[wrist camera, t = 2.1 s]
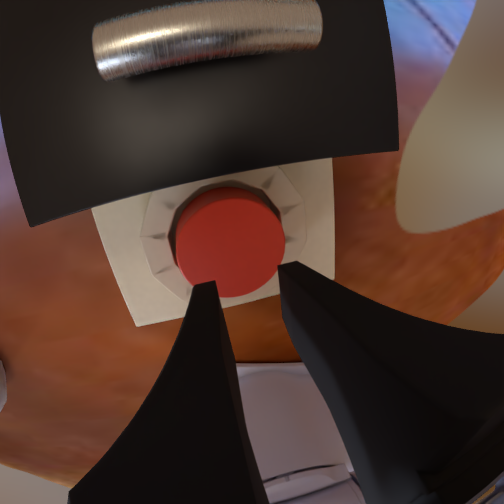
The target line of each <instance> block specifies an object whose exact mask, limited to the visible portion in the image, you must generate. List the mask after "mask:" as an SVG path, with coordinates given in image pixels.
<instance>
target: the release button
mask: <svg viewBox="0 0 504 504" xmlns="http://www.w3.org/2000/svg"><path fill="white" fill-rule="evenodd" d="M284 252H285V235H284V231H283V227H282V225H281V223H280V221H279V219H278V218H277V217H276V215H275V214H274V213H273V212H272V211H271V209H270V208H269V207H268V206H267V205H266V204H265V203H264V202H263V201H262V200H261V199H260V198H259V197H258V196H257V195H255V194H253V193H252V192H250V191H248V190H245V189H242V188H238V187H219V188H214V189H211V190H208V191H206V192H204V193H202V194H200V195H199V196H197V197H196V198H194V199H193V200H192V201H191V202H190V203H189V204H188V205H187V206H186V208H185V209H184V210H183V212H182V214H181V216H180V218H179V220H178V223H177V228H176V258H177V263H178V266H179V269H180V271H181V273H182V275H183V276H184V277H185V279H186V280H187V281H188V282H189V283H190V284H191V285H192V286H193V287H194V285H196V284H200V283H204V282H209V281H213V280H215V281H216V285H217V289H218V293H219V297H221V298H232V297H239V296H243V295H246V294H249V293H251V292H253V291H255V290H257V289H259V288H260V287H262V286H263V285H265V284H266V283H267V282H268V281H269V280H270V279H271V278H272V277H273V276H274V274H275V273H276V272H277V270H278V269H277V265H280V264H281V262H282V260H283V256H284Z"/></svg>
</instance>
